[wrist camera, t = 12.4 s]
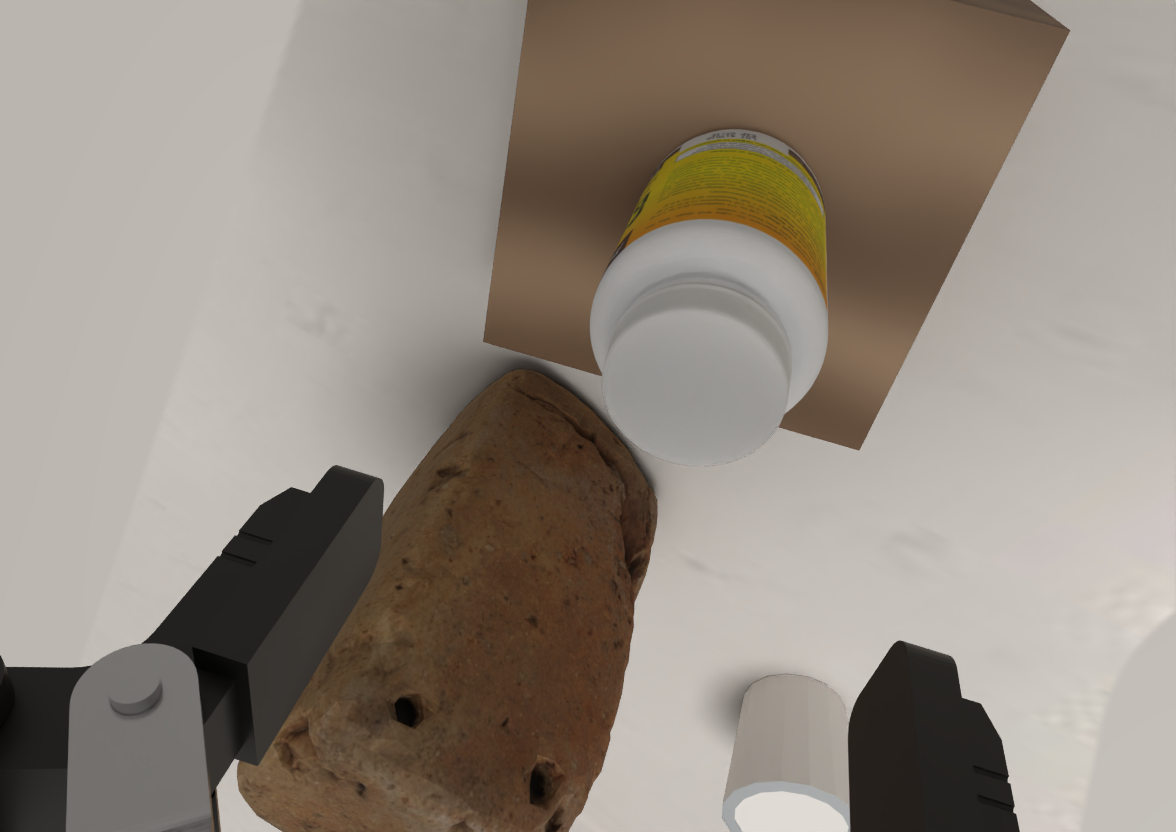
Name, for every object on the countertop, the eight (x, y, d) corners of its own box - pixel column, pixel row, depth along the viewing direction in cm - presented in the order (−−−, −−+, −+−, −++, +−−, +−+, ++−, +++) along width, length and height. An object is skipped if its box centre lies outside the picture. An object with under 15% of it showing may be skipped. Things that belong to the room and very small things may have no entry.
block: (432, 420, 41) (184, 795, 25) (527, 334, 37) (303, 714, 21) (590, 554, 44) (458, 968, 28) (694, 487, 40) (610, 928, 23)
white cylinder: (851, 666, 44) (856, 787, 38) (862, 747, 47) (868, 868, 42) (722, 665, 46) (709, 779, 41) (742, 743, 50) (733, 857, 44)
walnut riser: (590, -112, 27) (541, -101, 22) (1022, -5, 26) (1070, 30, 21) (528, 272, 35) (483, 341, 30) (853, 364, 34) (859, 450, 29)
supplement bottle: (644, 118, 24) (558, 259, 16) (839, 127, 23) (852, 282, 15) (640, 290, 28) (567, 480, 19) (811, 305, 27) (810, 512, 18)
